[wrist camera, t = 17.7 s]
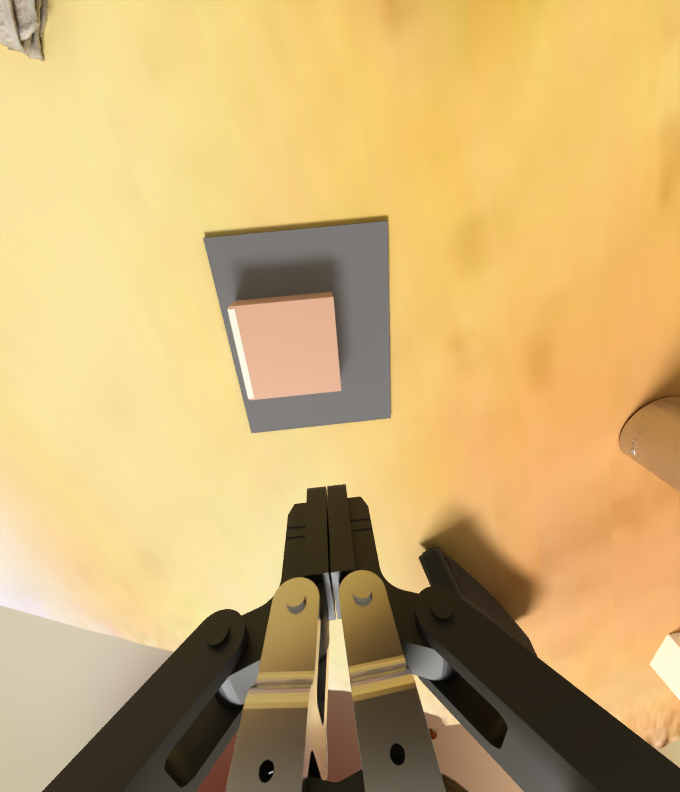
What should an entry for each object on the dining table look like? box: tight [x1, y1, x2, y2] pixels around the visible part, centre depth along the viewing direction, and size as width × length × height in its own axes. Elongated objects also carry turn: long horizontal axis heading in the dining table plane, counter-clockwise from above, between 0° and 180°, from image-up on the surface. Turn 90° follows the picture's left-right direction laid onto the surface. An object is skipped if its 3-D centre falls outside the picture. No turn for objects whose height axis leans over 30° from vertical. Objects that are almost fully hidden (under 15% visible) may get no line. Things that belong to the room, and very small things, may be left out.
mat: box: [203, 221, 391, 433], centre depth 32 cm, size 16×20×1 cm
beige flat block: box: [227, 292, 341, 400], centre depth 31 cm, size 3×9×9 cm
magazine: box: [419, 547, 537, 656], centre depth 49 cm, size 17×3×30 cm
